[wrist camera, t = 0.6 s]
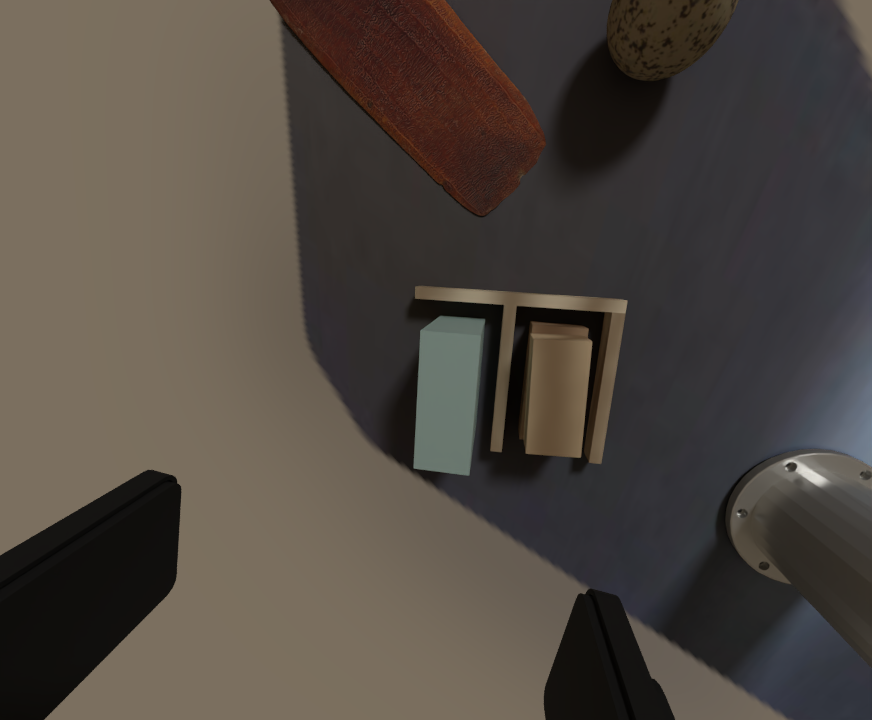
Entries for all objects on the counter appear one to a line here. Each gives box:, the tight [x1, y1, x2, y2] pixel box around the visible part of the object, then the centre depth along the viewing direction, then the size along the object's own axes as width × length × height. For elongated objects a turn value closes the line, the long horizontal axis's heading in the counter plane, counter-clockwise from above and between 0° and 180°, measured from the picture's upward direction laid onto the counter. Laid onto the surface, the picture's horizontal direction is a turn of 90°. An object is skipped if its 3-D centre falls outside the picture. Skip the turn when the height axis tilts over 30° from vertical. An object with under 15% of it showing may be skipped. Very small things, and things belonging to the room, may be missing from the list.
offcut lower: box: [518, 321, 589, 439], centre depth 35 cm, size 4×10×3 cm, turn 176°
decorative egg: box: [607, 0, 738, 81], centre depth 25 cm, size 7×7×10 cm
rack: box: [415, 286, 627, 464], centre depth 35 cm, size 17×14×2 cm
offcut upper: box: [523, 333, 592, 458], centre depth 32 cm, size 4×9×3 cm, turn 179°
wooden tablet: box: [270, 0, 546, 216], centre depth 32 cm, size 27×10×2 cm, turn 43°
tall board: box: [414, 315, 485, 476], centre depth 32 cm, size 4×10×10 cm, turn 176°
